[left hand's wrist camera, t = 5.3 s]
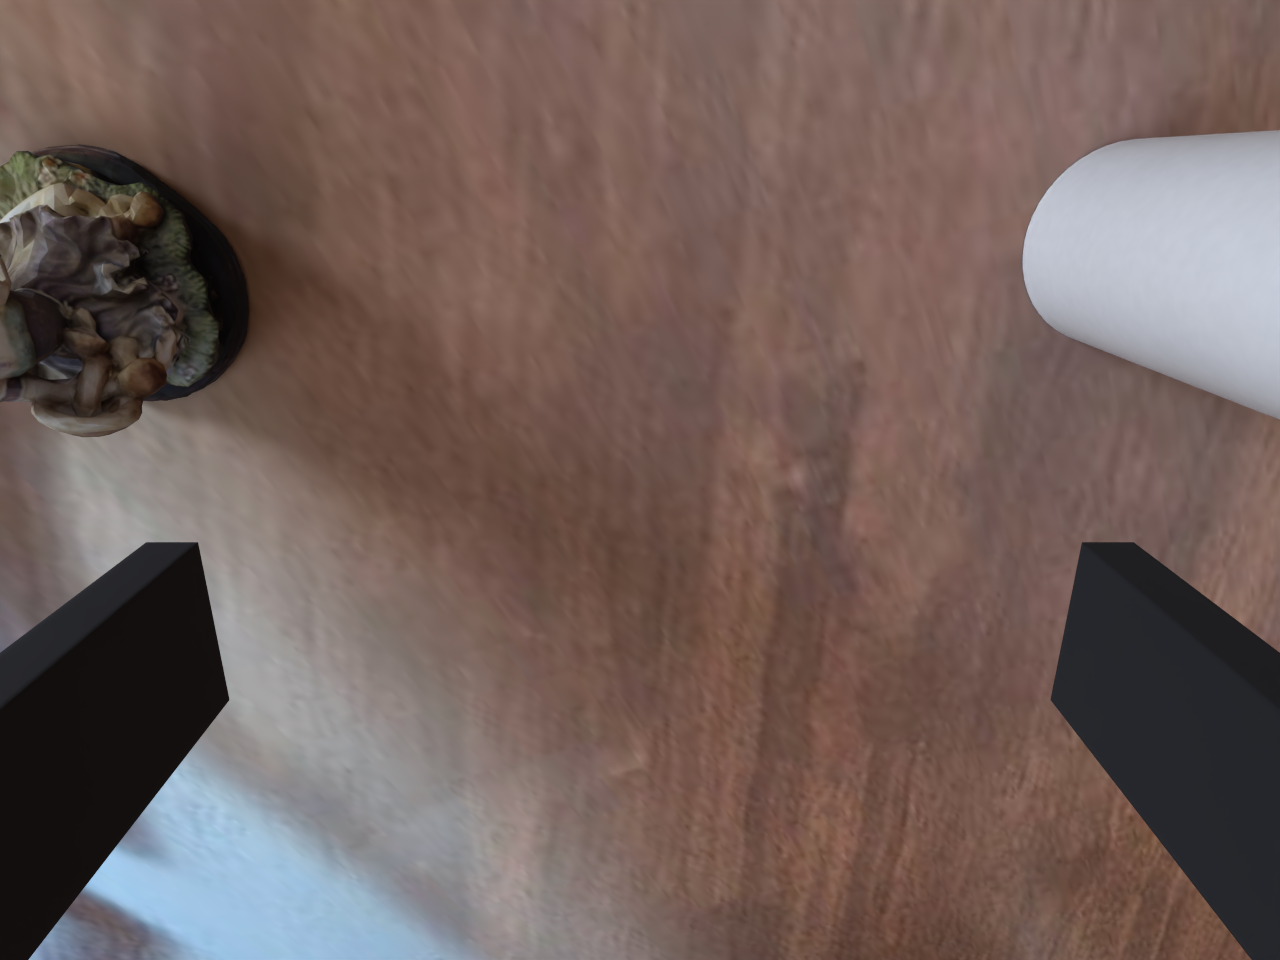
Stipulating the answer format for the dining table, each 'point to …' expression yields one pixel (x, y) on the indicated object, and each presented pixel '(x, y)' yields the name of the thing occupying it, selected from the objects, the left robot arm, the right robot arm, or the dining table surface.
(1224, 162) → the jar
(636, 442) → the dining table surface
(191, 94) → the dining table surface
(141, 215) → the figurine
